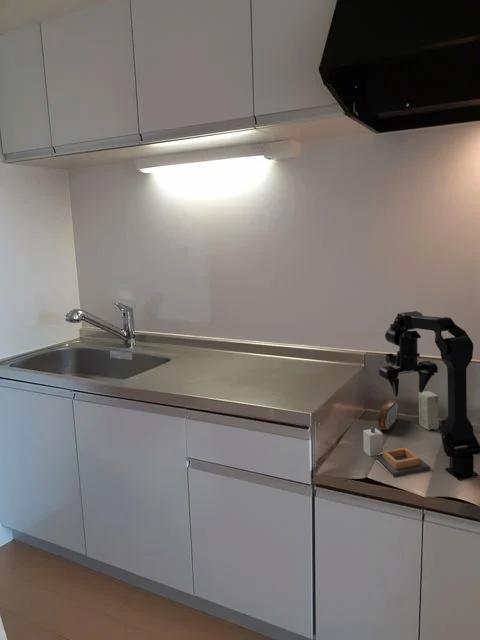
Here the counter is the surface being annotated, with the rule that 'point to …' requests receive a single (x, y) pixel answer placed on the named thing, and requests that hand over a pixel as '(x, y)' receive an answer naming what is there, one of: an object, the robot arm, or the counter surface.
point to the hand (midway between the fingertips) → (408, 394)
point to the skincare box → (428, 410)
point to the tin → (388, 415)
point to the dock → (401, 461)
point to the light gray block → (373, 441)
